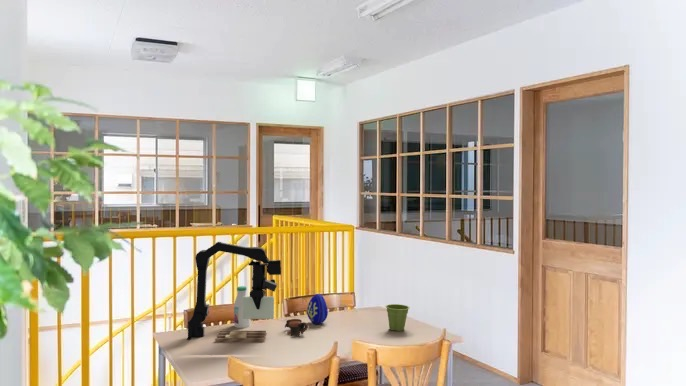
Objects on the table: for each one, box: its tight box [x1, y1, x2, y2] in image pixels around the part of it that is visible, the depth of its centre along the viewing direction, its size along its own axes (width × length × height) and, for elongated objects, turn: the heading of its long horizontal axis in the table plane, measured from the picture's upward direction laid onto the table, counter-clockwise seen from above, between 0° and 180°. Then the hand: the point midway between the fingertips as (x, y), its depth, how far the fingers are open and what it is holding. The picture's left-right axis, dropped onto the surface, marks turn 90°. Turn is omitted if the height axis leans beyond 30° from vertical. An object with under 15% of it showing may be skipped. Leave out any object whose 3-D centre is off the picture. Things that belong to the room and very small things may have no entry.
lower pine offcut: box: [225, 335, 247, 338], centre depth 237 cm, size 9×3×2 cm, turn 94°
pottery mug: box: [284, 318, 309, 337], centre depth 253 cm, size 12×10×8 cm
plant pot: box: [385, 303, 410, 332], centre depth 264 cm, size 12×12×11 cm
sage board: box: [243, 295, 275, 320], centre depth 246 cm, size 14×2×10 cm, turn 94°
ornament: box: [306, 293, 329, 325], centre depth 274 cm, size 11×9×15 cm
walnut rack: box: [213, 330, 268, 343], centre depth 242 cm, size 22×15×2 cm
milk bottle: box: [233, 285, 251, 329], centre depth 262 cm, size 8×8×20 cm
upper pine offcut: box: [230, 330, 248, 337], centre depth 237 cm, size 7×3×2 cm, turn 94°
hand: (258, 308), depth 246 cm, fingers closed on sage board, 2 cm apart
